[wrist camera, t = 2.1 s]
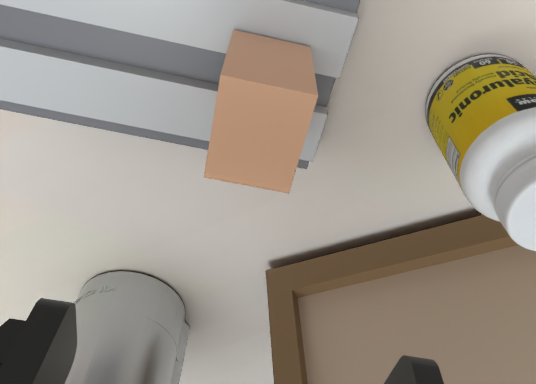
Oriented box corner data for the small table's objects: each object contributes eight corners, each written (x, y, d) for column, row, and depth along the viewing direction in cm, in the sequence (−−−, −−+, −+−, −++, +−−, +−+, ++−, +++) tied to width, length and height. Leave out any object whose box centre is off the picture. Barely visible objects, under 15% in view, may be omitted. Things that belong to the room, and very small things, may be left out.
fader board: (358, -20, 25) (366, -7, 22) (305, 152, 31) (307, 177, 29) (-34, -116, 23) (-72, -112, 20) (-5, 91, 29) (-31, 112, 26)
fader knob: (309, 40, 24) (318, 95, 19) (287, 123, 27) (288, 193, 22) (234, 23, 24) (220, 74, 18) (220, 109, 27) (203, 177, 21)
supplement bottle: (523, 34, 26) (655, 128, 17) (531, 126, 30) (644, 246, 20) (413, 72, 28) (479, 178, 18) (432, 156, 31) (495, 281, 22)
